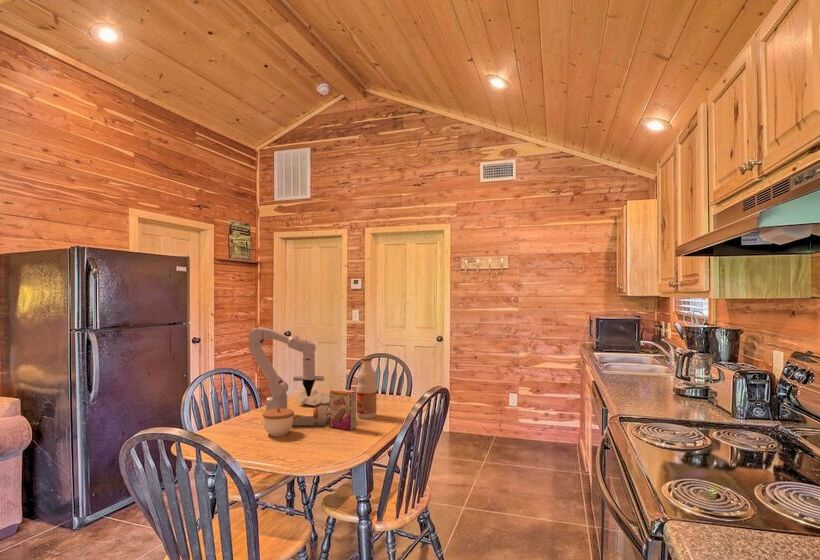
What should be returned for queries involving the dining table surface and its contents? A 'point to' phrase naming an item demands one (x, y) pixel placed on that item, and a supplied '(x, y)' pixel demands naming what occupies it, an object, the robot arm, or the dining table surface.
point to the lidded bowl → (278, 421)
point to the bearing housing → (313, 419)
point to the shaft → (315, 412)
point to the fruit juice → (366, 390)
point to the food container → (314, 398)
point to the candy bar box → (343, 409)
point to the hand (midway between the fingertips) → (308, 395)
